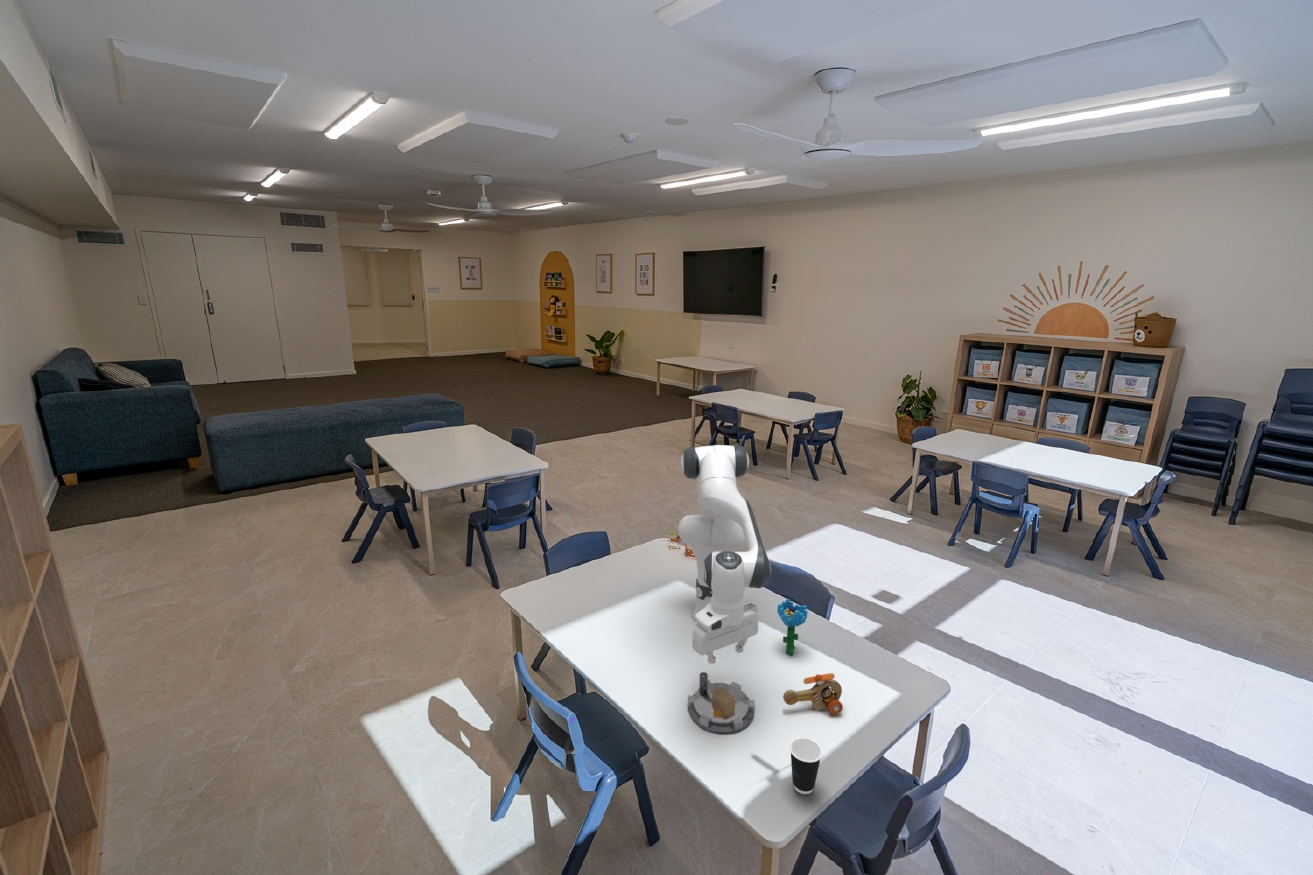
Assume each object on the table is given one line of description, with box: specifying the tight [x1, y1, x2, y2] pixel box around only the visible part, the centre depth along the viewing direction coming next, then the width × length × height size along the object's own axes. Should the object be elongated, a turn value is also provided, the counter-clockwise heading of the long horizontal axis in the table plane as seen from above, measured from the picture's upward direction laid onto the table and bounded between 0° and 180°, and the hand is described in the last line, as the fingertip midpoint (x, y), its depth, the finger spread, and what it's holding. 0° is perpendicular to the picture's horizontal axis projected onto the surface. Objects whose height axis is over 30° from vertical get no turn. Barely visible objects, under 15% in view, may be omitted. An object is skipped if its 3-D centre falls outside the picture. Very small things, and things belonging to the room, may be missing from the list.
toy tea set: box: [666, 531, 695, 558], centre depth 271 cm, size 26×16×10 cm, turn 49°
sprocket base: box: [687, 693, 755, 735], centre depth 168 cm, size 19×19×1 cm
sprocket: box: [687, 671, 756, 730], centre depth 166 cm, size 18×19×8 cm
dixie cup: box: [788, 736, 824, 795], centre depth 140 cm, size 8×8×11 cm
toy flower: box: [777, 598, 809, 657], centre depth 193 cm, size 9×9×18 cm
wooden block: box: [712, 688, 735, 719], centre depth 161 cm, size 6×4×5 cm, turn 31°
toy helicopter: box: [782, 672, 844, 715], centre depth 167 cm, size 7×18×12 cm, turn 101°
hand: (725, 656), depth 158 cm, fingers open, 8 cm apart
